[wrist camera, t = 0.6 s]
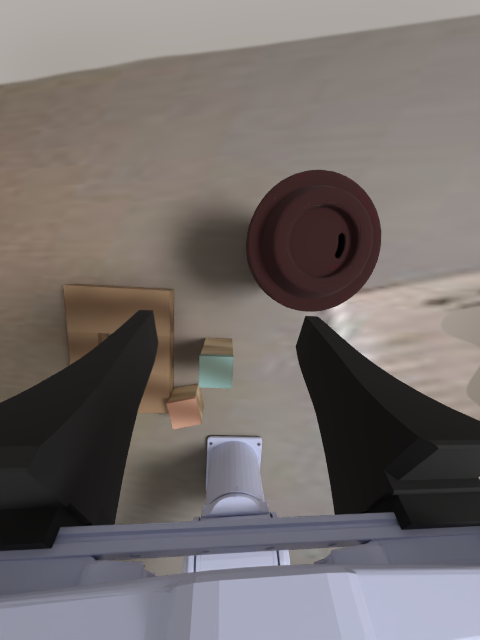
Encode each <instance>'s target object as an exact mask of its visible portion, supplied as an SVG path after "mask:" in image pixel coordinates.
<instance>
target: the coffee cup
mask: <svg viewBox="0 0 480 640" xmlns="http://www.w3.org/2000/svg"><path fill="white" fill-rule="evenodd" d="M380 246H381V227H380V221H379V217H378V214H377V211H376V208H375V206H374V204H373V202H372V200H371V199H370V197H369V196H368V195H367V193H366V192H365V191H364V190H363V189H362V188H361V187H360V186H359V185H358V184H357V183H355V182H354V181H353V180H351V179H350V178H348V177H346V176H344V175H342V174H339V173H336V172H333V171H326V170H310V171H305V172H301V173H297V174H294V175H292V176H290V177H288V178H286V179H284V180H282V181H281V182H280V183H278V184H277V185H276V186H274V187H273V188H272V189H271V190H270V191H269V192H268V193H267V194H266V195H265V197H264V198H263V199H262V200H261V202H260V204H259V205H258V207H257V209H256V211H255V213H254V215H253V217H252V219H251V222H250V225H249V228H248V233H247V239H246V253H247V259H248V264H249V267H250V270H251V273H252V275H253V277H254V279H255V281H256V282H257V284H258V285H259V287H260V288H261V289H262V290H263V291H264V292H265V293H266V294H267V295H268V296H269V297H271V298H272V299H273V300H275V301H276V302H278V303H280V304H282V305H284V306H286V307H288V308H291V309H295V310H299V311H322V310H326V309H330V308H333V307H335V306H338V305H340V304H341V303H343V302H345V301H347V300H348V299H349V298H351V297H352V296H353V295H355V294H356V293H357V292H358V291H359V290H360V289H361V288H362V287H363V286H364V284H365V283H366V282H367V280H368V279H369V277H370V275H371V274H372V272H373V270H374V268H375V265H376V263H377V260H378V256H379V252H380Z"/></svg>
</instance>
